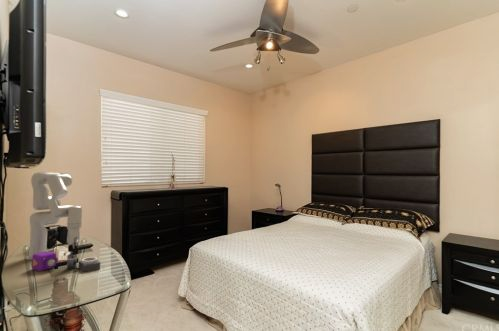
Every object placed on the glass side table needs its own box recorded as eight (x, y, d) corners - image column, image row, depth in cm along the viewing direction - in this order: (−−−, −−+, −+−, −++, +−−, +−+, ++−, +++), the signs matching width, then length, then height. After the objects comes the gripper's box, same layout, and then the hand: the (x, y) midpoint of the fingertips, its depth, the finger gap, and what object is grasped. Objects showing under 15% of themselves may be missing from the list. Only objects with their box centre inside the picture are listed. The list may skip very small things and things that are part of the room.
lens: (65, 267, 167) (66, 254, 168) (75, 265, 171) (76, 253, 171) (67, 270, 164) (68, 256, 164) (77, 268, 167) (78, 254, 168)
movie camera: (43, 251, 197) (45, 227, 199) (29, 249, 204) (31, 226, 205) (83, 243, 226) (84, 222, 227) (69, 242, 232) (71, 221, 234)
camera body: (78, 267, 169) (78, 258, 169) (94, 264, 176) (94, 255, 176) (83, 272, 161) (84, 262, 161) (100, 268, 167) (100, 259, 168)
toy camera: (46, 273, 158) (47, 256, 158) (27, 270, 160) (28, 254, 161) (62, 267, 168) (63, 251, 169) (44, 264, 171) (45, 249, 171)
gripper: (64, 224, 172) (62, 251, 171) (70, 228, 160) (69, 257, 159) (77, 223, 177) (76, 249, 176) (85, 226, 165) (83, 254, 164)
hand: (73, 252), depth 167 cm, fingers open, 9 cm apart
